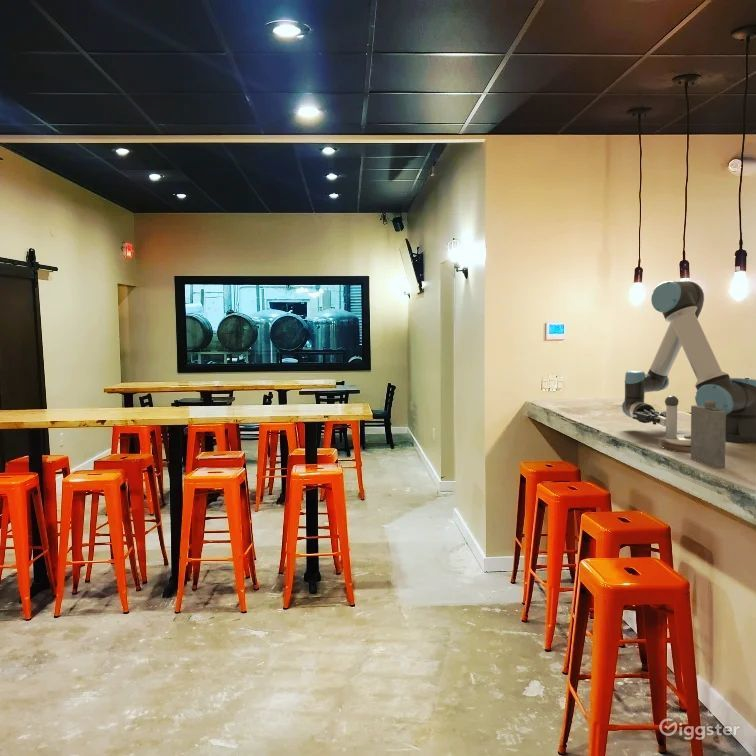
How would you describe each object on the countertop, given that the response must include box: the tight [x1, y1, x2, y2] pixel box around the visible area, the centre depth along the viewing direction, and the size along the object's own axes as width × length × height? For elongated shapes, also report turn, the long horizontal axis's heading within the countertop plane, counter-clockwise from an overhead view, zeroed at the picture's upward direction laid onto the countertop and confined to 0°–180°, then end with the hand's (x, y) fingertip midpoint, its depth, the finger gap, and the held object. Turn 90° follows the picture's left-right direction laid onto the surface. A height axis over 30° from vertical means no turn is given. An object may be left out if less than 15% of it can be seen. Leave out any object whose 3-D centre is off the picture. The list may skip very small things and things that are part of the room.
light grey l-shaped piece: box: [664, 395, 691, 446], centre depth 223 cm, size 16×15×17 cm
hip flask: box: [690, 401, 726, 469], centre depth 199 cm, size 16×4×20 cm, turn 3°
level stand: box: [660, 439, 691, 453], centre depth 224 cm, size 18×18×5 cm
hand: (665, 422), depth 225 cm, fingers closed
